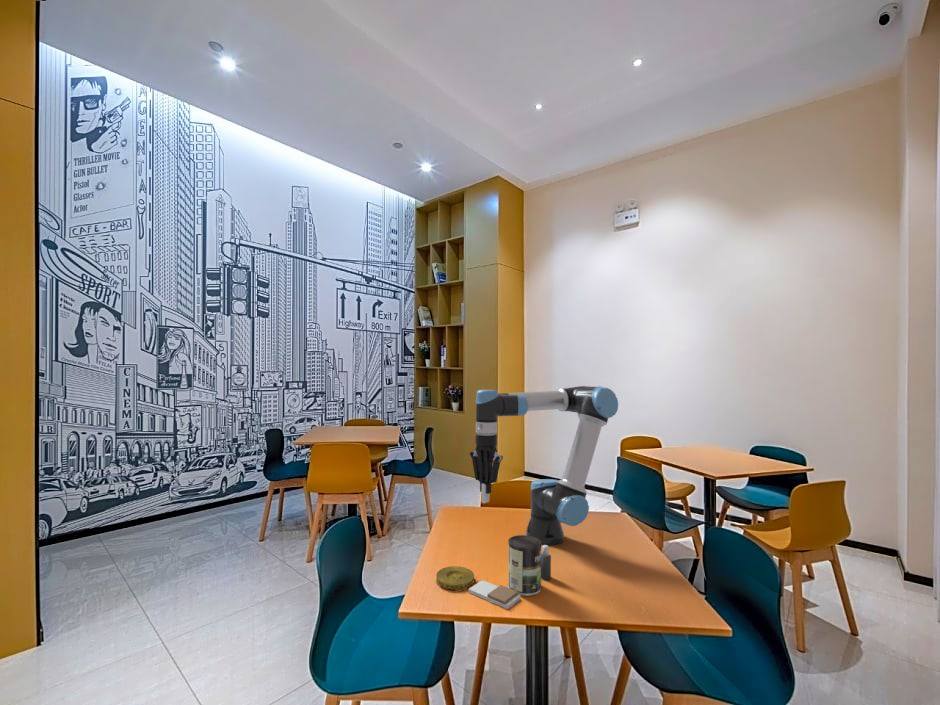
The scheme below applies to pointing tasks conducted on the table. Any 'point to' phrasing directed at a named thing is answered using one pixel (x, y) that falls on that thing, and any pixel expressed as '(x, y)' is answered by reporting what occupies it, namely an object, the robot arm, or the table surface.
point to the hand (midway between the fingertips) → (485, 502)
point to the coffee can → (524, 565)
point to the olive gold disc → (455, 578)
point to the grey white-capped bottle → (545, 564)
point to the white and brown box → (495, 594)
